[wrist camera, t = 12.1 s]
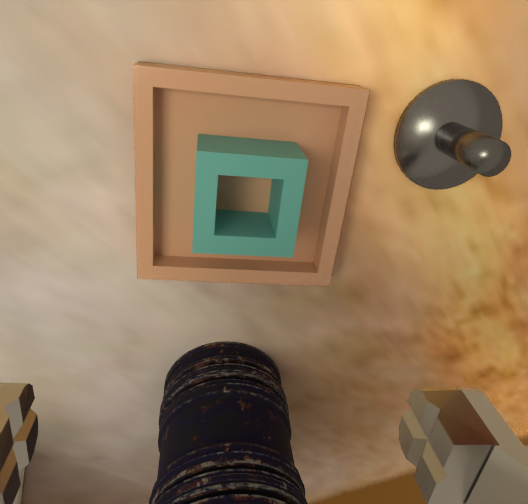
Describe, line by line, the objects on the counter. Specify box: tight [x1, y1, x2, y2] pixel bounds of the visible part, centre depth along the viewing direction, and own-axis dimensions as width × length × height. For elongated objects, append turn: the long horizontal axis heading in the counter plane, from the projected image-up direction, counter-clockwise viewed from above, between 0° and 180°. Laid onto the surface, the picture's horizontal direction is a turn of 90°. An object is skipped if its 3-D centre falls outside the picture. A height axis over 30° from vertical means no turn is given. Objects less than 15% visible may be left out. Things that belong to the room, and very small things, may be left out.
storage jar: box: [149, 342, 307, 504], centre depth 31 cm, size 10×10×15 cm
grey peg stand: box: [394, 79, 511, 189], centre depth 27 cm, size 7×7×6 cm
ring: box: [192, 134, 308, 258], centre depth 27 cm, size 6×6×4 cm
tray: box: [133, 62, 370, 286], centre depth 28 cm, size 13×13×2 cm
